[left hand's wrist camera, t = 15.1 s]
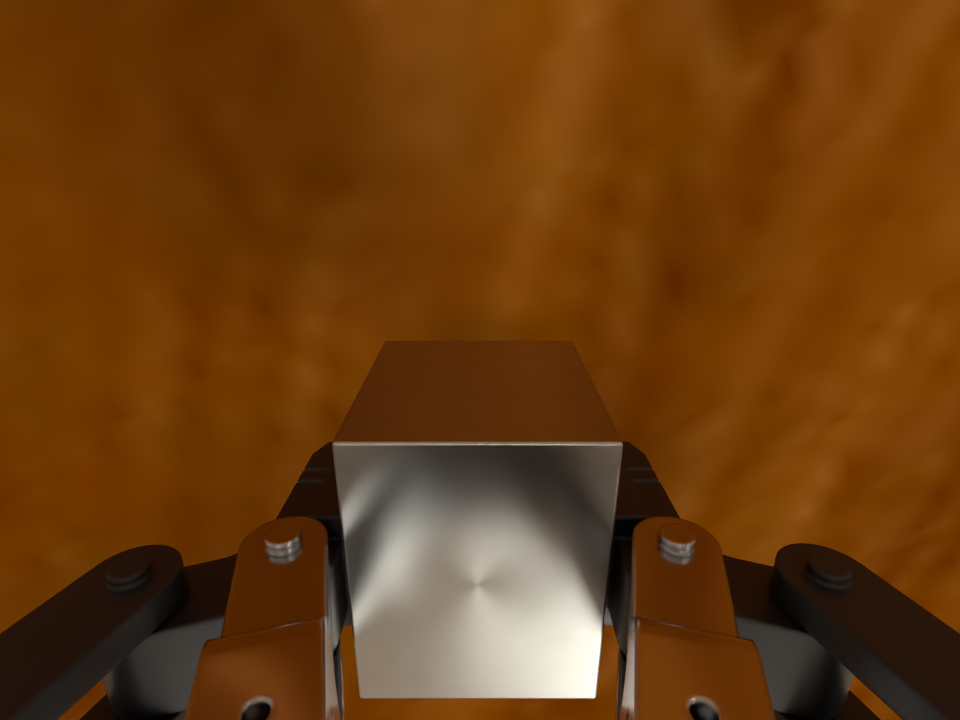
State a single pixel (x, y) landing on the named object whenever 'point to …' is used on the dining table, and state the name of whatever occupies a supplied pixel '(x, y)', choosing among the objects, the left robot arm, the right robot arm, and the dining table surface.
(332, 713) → the left robot arm
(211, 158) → the dining table surface
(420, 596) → the block
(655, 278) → the dining table surface
